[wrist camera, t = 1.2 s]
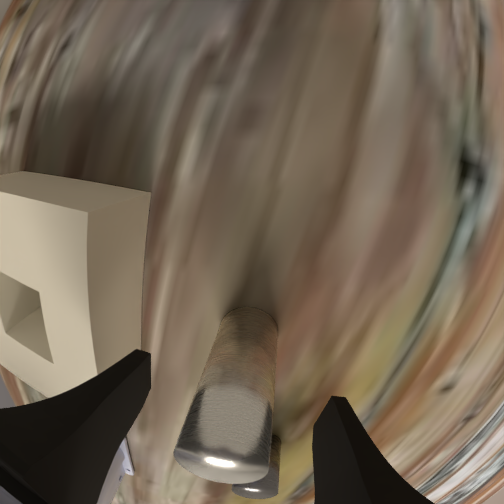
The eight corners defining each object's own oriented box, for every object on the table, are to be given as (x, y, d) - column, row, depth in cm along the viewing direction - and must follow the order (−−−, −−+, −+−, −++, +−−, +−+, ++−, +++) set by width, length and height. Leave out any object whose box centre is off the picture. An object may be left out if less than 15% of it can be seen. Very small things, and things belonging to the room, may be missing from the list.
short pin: (274, 454, 18) (270, 500, 14) (237, 447, 18) (228, 494, 14) (285, 435, 17) (283, 486, 13) (244, 428, 17) (235, 480, 13)
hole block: (141, 377, 17) (110, 430, 12) (35, 327, 17) (-4, 361, 12) (151, 192, 13) (87, 212, 8) (23, 170, 13) (-36, 182, 8)
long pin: (269, 359, 15) (256, 488, 7) (216, 346, 15) (173, 470, 7) (284, 314, 14) (280, 453, 6) (225, 300, 14) (174, 429, 6)
